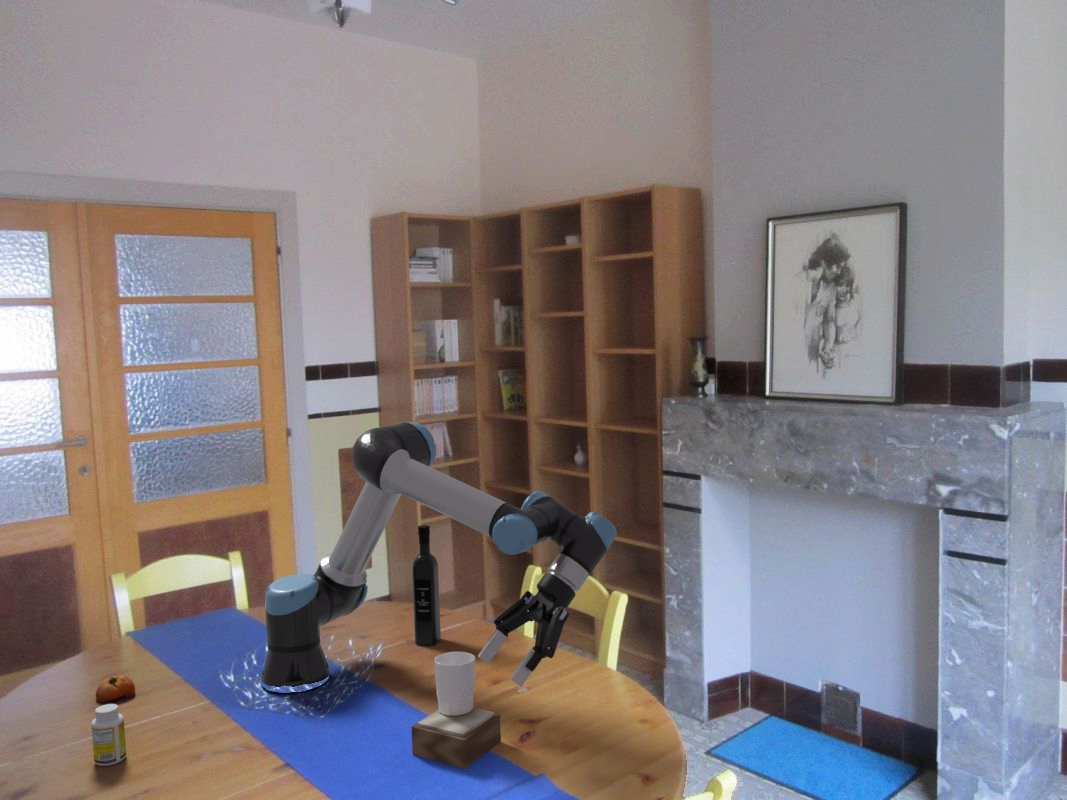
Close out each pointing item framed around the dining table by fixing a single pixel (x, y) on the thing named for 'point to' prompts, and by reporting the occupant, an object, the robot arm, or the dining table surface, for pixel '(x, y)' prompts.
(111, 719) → the supplement bottle
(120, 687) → the tomato
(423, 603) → the wine bottle
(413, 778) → the dining table surface
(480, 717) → the base
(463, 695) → the white cup
